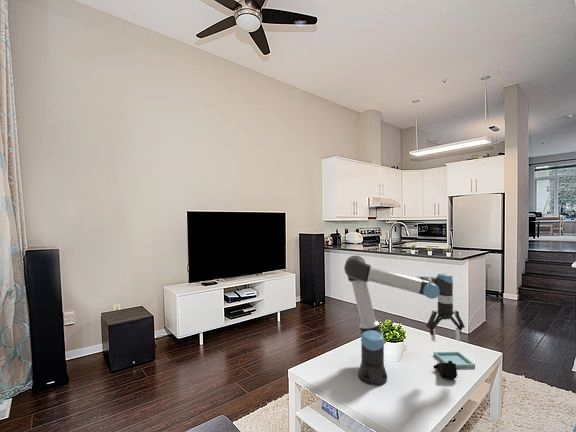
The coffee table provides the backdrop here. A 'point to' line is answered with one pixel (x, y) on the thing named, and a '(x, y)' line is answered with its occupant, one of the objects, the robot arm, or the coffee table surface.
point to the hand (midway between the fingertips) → (445, 340)
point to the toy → (447, 369)
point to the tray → (454, 359)
